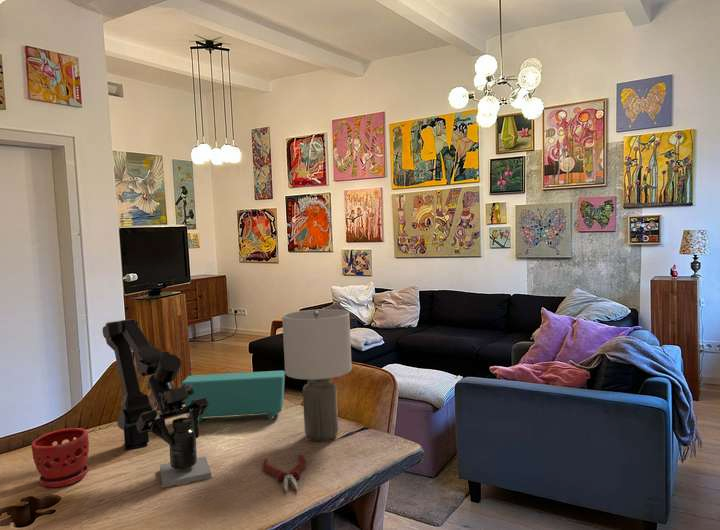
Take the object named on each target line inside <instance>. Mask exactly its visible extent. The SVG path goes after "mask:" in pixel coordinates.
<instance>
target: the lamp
mask: <svg viewBox="0 0 720 530" xmlns="http://www.w3.org/2000/svg"><path fill="white" fill-rule="evenodd" d="M281 317H282V318H281V319H282V336H283V337H282V339H283V354H284V356H283V357H284V371H285V376H287V377H289V378H292V379H295V380H296V379H297V380H307V383H306V384H304V385H303V388H302V405H303V420H304V423H303V424H304V425H303V426H304V428H303V429H304V435H305V437H306V438H307V439H308V440H309V439H311V440H310V441H312V440H313V442H317V441H319V442H327V440H328V441H331V440H333V439H335V438H336V436H337V435H338V432H339V418H338V417H339V416H338V415H339V414H338V397H337V396H338V395H337V392H338V391H337V390H338V389H337V386H336V384H335V382H332V381H331V379H333V378H338V377H342V376H344V375H347V374H349V373H351V371H352V369H353V368H352V366H353V365H352V346H351V345H352V342H351V326H350V325H351V324H350V311H349V310H346V309H345V310H344V309H334V308H333V309H332V308H331V309H329V308H327V309H325V308H322V309H317V308H316V309H306V310H298V311H292V312H286V313H285V314H282V316H281Z"/></svg>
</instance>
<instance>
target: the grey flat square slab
mask: <svg viewBox="0 0 720 530" xmlns="http://www.w3.org/2000/svg"><path fill="white" fill-rule="evenodd" d="M159 471H160V477H161V487H162V488H163V487H166V488H169V487H168V486H171V487H173V486H172V485H176V486H179V485H178V484H181V485H184V484H183V483H186V484H188V483H187V482H191V483H195V482H194V481H196V482H200V481H199V480H201V481H204V479H205V480H210V479H212V472H211V468H210V466H209V463H208V459H207V457H206V456H201V457H200V456H199V457H197V462H196V464H195V465H194V466H192V467H189V468H185V469H174V468H172V467H171V465H170V462H169V463H163V464H159ZM209 478H210V479H209Z"/></svg>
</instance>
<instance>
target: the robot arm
mask: <svg viewBox="0 0 720 530" xmlns="http://www.w3.org/2000/svg"><path fill="white" fill-rule="evenodd" d="M102 336H103V337H104V339H105V341H106V344H107V346H108V347H109V348H110V349H112V350H113V353H114V355H115V360H116V365H117V371H118V374H119V379H120V383H121V388H122V392H123V393H122V394H123V398H122V400H121V403H120V405H119V407H120V412H119V415H118V417H117V419H116V422H117V423H116V424H117V428H119V429H121V430H123V438H124V439H123V440H124V445H123V446H124V450H126V451H127V450H131V449H137V448H142V447H147V446H148V443H149V442H150V439H149V438H150V437H149V434H150V433H153V434H154V435H156V436H157V437H159V438H160V439H161V440H163V441H164V442H165V443H166V444H168V446H169V445H170V446H173V444H174V443H173V440H172V437H171V435H170V431H169V429H168V427H167V425H166V420H169V419H171V418H177V417H179V416H183V415H186V416H187V415H188V417H187V418H191V423H192V426H191V428H193V429H194V430H195V431H196V439H198V438H199V436H200V434H199V424H198V419H199V418H198V416H200V415H202V414H204V412H205V411H206V409H207V407H208V405H209V402H208V400H207V399H206V398H205V397H201V398H197V399H194V400H192V401H191V403H190V405H189V406H185V399H188V398H189V396H190V395H192V394H193V393H194V390H193V387H192V385H191V383H187V384H184V385H181V387H175V386H174V384H173V381H174V380H175V379H176V376H177V375H178V373H179V371H180V368H181V366H182V361H181V358H179V357H178V356H177V355H174V354H171V353H170V351H169V350H167V351H163V352H162V351H161V350H160V349H159V348H157V347H155V346H153V345H151V343H150V342H149V340H148V339H147V338H146V336H145V333H143V331H142V329H141V328H140V326H139V322H138V320H137V319H135V318H130V319H122V320H115V321H110V322H106V323H105V326H103V327H102ZM132 351H133V353H132ZM133 354H134V355H135V357H136V363H135V362H134V357H133ZM137 373H139V374H140V376H142V377H147V376H150V375H151V376H150V377H149V379H148V381H147V389H148V390H150V391H151V394H152V396H153V397H154V400H155V401H154V406H155V407H158V410H159V412H157V410H155V409H153V407H152V404H151V402H150V400H149V396H148V394H146V393H143V392H142V391H141V389H140V384H139V379H138V375H137ZM183 405H184V406H183Z"/></svg>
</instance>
